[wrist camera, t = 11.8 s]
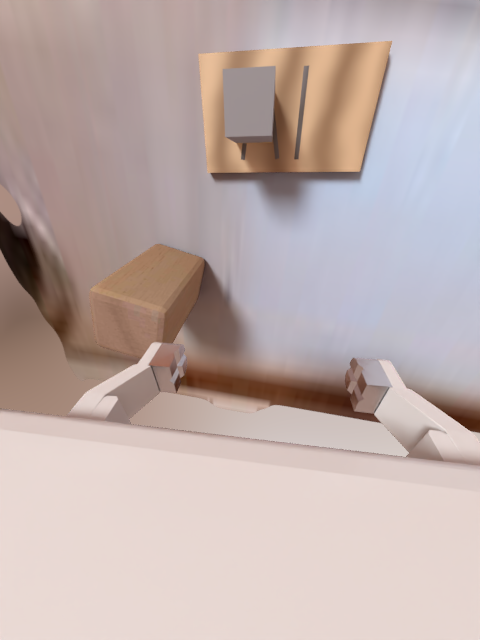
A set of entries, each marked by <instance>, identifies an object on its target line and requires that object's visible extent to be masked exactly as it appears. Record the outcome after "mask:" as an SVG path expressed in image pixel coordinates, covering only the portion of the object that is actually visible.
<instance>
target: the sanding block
mask: <svg viewBox="0 0 480 640" xmlns="http://www.w3.org/2000/svg"><path fill="white" fill-rule="evenodd" d="M275 75H276V66H264V67H248V68H231V69H223V94H224V120H225V137H226V138H228V139H230V140H231V141H233V142H235V143H272V139H273V121H274V104H275Z"/></svg>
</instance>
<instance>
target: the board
mask: <svg viewBox="0 0 480 640" xmlns="http://www.w3.org/2000/svg"><path fill="white" fill-rule="evenodd" d="M391 44H392V41H385V42H370V43H355V44H340V45H325V46H310V47H295V48H280V49H265V50H250V51H235V52H220V53H205V54H198V55H199V68H200V80H201V93H202V106H203V119H204V132H205V145H206V158H207V171H208V173H244V172H360V169H361V165H362V161H363V157H364V153H365V149H366V145H367V141H368V136H369V132H370V128H371V124H372V120H373V116H374V112H375V108H376V104H377V100H378V96H379V92H380V88H381V84H382V80H383V76H384V72H385V68H386V64H387V60H388V56H389V52H390V48H391ZM264 66H276V75H275V104H274V121H273V139H272V143H235V142H233V141H231V140H230V139H228V138H226V137H225V120H224V94H223V69H231V68H248V67H264Z"/></svg>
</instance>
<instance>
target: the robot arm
mask: <svg viewBox="0 0 480 640" xmlns="http://www.w3.org/2000/svg"><path fill="white" fill-rule="evenodd" d="M184 352H185V348H184V345H181V344H172V343H160V342H153V343H152V344H151V345H150V347H149V348H148V350H147V351H146V353H145V354H144V355H143V357H142V358H141V360H140V361H139V363H138V364H137V365H135V364H134V365H133V366H131V367H129V368H127V369H126V370H124V371H122V372H120V373H119V374H117V375H115V376H113V377H112V378H110V379H108V380H106V381H105V382H103V383H101V384H100V385H98V386H96V387H94V388H93V389H91V390H89V391H87V392H86V393H85V394H84V395H83V396H82V398H81V399H80V400H79V401H78V403H77V404H76V405H75V406H74V407H73V409H72V410H71V411H70V412H69V414H68V415H67V416H59V415H50V414H42V413H34V412H25V411H17V410H8V409H1V408H0V640H480V442H479V440H478V439H477V438H476V437H475V435H474V434H473V433H472V432H470V431H469V430H468V429H466V428H465V427H463V426H462V425H461V424H459V423H458V422H456V421H455V420H453V419H452V418H451V417H449V416H448V415H446V414H445V413H444V412H442V411H441V410H439V409H438V408H437V407H435V406H434V405H432V404H431V403H429V402H428V401H427V400H425V399H424V398H422V397H421V396H420V395H418V394H417V393H415V392H414V391H413V390H411V389H407V388H406V386H405V385H404V383H403V381H402V380H401V378H400V376H399V375H398V373H397V371H396V370H395V368H394V366H393V365H392V363H391V362H390V361H389V360H380V359H364V358H353V359H352V360H351V362H350V366H351V368H350V369H349V370H347V372H346V375H345V384H346V388H347V390H348V391H349V392H350V393H351V394H352V395H351V397H350V400H351V403H352V406H353V409H354V411H357V412H365V413H373V414H374V415H375V416H376V417H377V418H378V419H379V421H380V422H381V423H382V424H383V425H384V426H385V427H386V428H387V429H388V430H389V431H390V432H391V434H392V435H394V437H395V438H396V439H397V440H398V441H399V442H400V443H401V444H402V445H403V446H404V448H405V449H406V450H407V451H408V452H409V454H408V455H407V456H406V457H401V456H393V455H383V454H376V453H368V452H359V451H351V450H343V449H333V448H326V447H317V446H309V445H300V444H291V443H284V442H275V441H267V440H259V439H250V438H242V437H234V436H225V435H216V434H208V433H200V432H192V431H184V430H175V429H167V428H159V427H150V426H142V425H134V424H131V422H130V420H129V419H130V418H131V417H133V416H134V415H135V414H136V413H137V412H138V411H139V410H141V409H142V408H143V407H144V406H145V405H146V404H147V403H149V402H150V401H151V400H152V399H153V398H154V397H155V396H157V395H158V394H159V393H160V392H169V393H177V391H178V388H179V386H180V384H181V379H180V378H181V377H182V376H184V374H185V372H186V368H187V358H186V356H185V355H184Z"/></svg>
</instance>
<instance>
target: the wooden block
mask: <svg viewBox="0 0 480 640" xmlns="http://www.w3.org/2000/svg"><path fill="white" fill-rule="evenodd" d="M204 266H205V262H204V259H203V258H201V257H198V256H195V255H192V254H189V253H186V252H183V251H180V250H177V249H174V248H170V247H167V246H164V245H161V244H155V245H154V246H153V247H151V248H150V249H148V250H147V251H145V252H144V253H142V254H141V255H139V256H138V257H136V258H135V259H133V260H132V261H130V262H129V263H127V264H126V265H125V266H123V267H122V268H120V269H119V270H117V271H116V272H114V273H113V274H111V275H110V276H108V277H107V278H105V279H104V280H102V281H101V282H99V283H98V284H96V285H95V286H94V287H92V288H91V290H90V293H89V300H90V307H91V314H92V321H93V328H94V335H95V342H96V343H97V345H99V346H100V347H103V348H106V349H110V350H113V351H117V352H120V353H124V354H127V355H130V356H134V357H137V358H142V357H143V355H144V354H145V353H146V351H147V350H148V348H149V347H150V345H151V344H152V343H153V342H160V343H173V341H174V340H175V338H176V336H177V334H178V333H179V331H180V329H181V327H182V325H183V324H184V322H185V320H186V318H187V317H188V315H189V313H190V311H191V310H192V308H193V306H194V304H195V303H196V301H197V299H198V296H199V291H200V286H201V281H202V276H203V271H204Z"/></svg>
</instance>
